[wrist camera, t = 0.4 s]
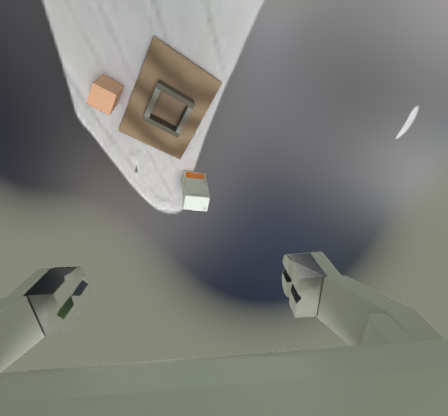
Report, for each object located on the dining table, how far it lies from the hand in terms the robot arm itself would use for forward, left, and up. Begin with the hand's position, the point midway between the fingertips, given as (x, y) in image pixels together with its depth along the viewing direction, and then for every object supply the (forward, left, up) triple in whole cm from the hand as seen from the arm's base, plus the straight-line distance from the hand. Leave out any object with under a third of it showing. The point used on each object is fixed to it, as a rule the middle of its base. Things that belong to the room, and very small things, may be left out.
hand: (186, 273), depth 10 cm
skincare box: (+21, +15, -50) cm, 57 cm away
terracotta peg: (+10, -10, -50) cm, 52 cm away
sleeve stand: (+7, +1, -50) cm, 51 cm away
